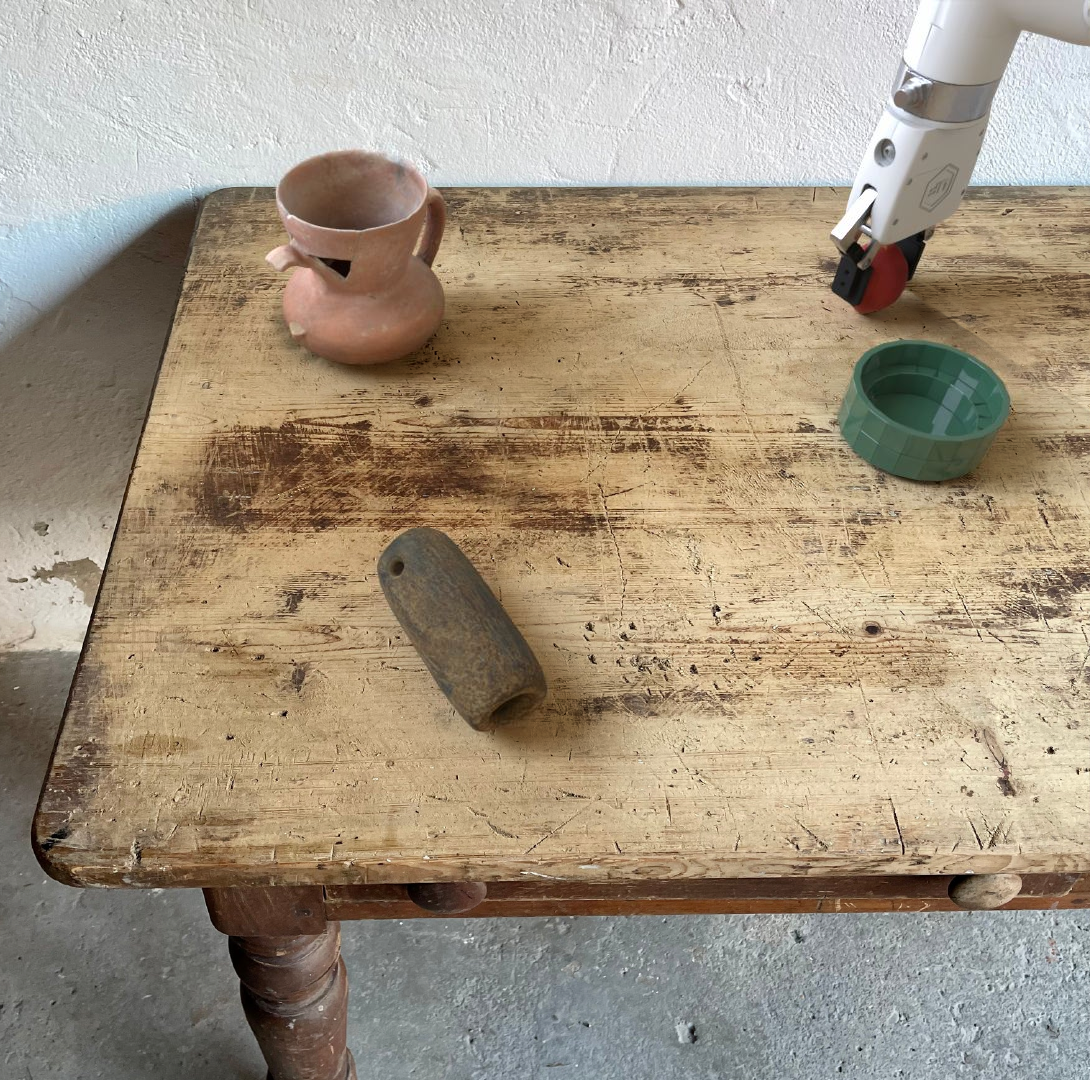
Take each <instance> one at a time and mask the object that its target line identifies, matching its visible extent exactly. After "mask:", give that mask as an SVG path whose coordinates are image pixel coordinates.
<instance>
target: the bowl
mask: <svg viewBox="0 0 1090 1080" xmlns="http://www.w3.org/2000/svg"><path fill="white" fill-rule="evenodd" d="M1005 384H1006V383H1005V382H1004V381H1003V380H1002V378H1001V377H999V375H998V374H997V373H996V372H995V371H994V370H993V369H992V367H990V366H989V365H988V364H986V363H985V362H984V361H982V360H980V359H978V358H977V357H976V356H974V355H972V354H970V353H968V352H966V351H963V350H961V349H959V348H956V347H954V346H952V345H949V344H945V343H940V342H935V341H931V340H926V339H898V340H893V341H888V342H883V343H880V344H878V345H876V346H874V347H872V348H870V349H868V350H866V351H865V352H864V353H863V355H861V357H860V358H859V359H858V360H857V361H856V362H855V364H854V366H853V370H852V371H851V375H850V377H849V380H848V382H847V386H846V388H845V391H844V393H843V396H842V399H841V401H840V403H839V408H838V414H837V416H836V417H837V422H838V426H839V430H840V434H841V436H842V437H843V439H844V441H846V443H847V444H848V446H849V447H850V448H851V450H852V451H854V452H855V453H856V454H857V455H859V456H860V457H861V458H862V459H864V460H865V461H866V462H867V463H869V464H870V465H873V466H875V467H877V468H879V469H880V470H884V471H885V472H887V473H889V474H892V475H895V476H899V477H903V478H906V479H911V480H915V481H929V482H930V481H931V482H943V481H947V480H951V479H956V478H961V477H964V476H965V475H967V474H969V473H970V472H972V471H973V470H975V469H977V468H978V467H979V466H980V465H981V463H982V462H983V460H984V459H985V458H986V456H987V455H988V453H989V452H990V449H991V448H992V446H993V445H994V443H995V441H996V439H997V437H998V435H999V434H1000V432H1001V430H1002V428H1003V426H1004V425H1005V423H1006V422H1007V420H1008V418H1009V416H1010V409H1011V397H1010V394H1009V391H1008V389H1007V387H1006V385H1005Z"/></svg>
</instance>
